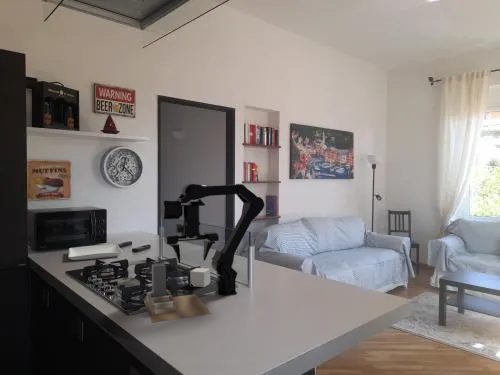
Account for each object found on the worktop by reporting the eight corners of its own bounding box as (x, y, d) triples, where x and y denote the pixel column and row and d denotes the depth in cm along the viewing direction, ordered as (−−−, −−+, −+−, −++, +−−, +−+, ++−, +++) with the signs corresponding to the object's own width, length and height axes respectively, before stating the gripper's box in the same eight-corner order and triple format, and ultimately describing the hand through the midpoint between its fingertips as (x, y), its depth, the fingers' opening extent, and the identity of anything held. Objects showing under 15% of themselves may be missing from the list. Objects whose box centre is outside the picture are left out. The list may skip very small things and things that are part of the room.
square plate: (69, 253, 217) (69, 247, 217) (118, 249, 229) (117, 243, 229) (68, 263, 193) (68, 255, 193) (122, 258, 204) (122, 251, 204)
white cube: (204, 287, 146) (204, 272, 146) (190, 286, 148) (190, 271, 147) (210, 283, 152) (210, 268, 151) (197, 282, 153) (196, 267, 153)
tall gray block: (164, 300, 127) (163, 263, 126) (166, 304, 123) (165, 265, 123) (152, 302, 125) (151, 264, 125) (153, 305, 121) (153, 266, 121)
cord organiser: (195, 296, 133) (195, 285, 133) (211, 316, 114) (211, 302, 114) (143, 303, 126) (143, 291, 126) (152, 325, 107) (152, 311, 107)
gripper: (210, 215, 143) (210, 255, 144) (161, 217, 136) (162, 259, 137) (218, 218, 133) (219, 260, 133) (166, 220, 126) (167, 265, 126)
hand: (192, 261), depth 133 cm, fingers open, 9 cm apart
